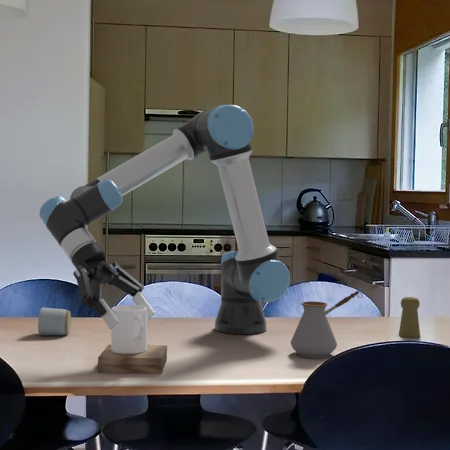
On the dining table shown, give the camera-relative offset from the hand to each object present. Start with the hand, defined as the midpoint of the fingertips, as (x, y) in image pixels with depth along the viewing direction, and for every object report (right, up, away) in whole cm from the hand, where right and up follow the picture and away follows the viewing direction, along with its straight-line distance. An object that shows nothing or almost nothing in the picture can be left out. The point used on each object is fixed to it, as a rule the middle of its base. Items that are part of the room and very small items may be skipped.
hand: (133, 320), depth 159 cm
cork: (+73, -10, +39) cm, 84 cm away
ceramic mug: (-27, -9, +36) cm, 46 cm away
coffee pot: (+47, -10, +17) cm, 51 cm away
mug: (0, -7, 0) cm, 7 cm away
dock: (0, -10, +1) cm, 11 cm away
